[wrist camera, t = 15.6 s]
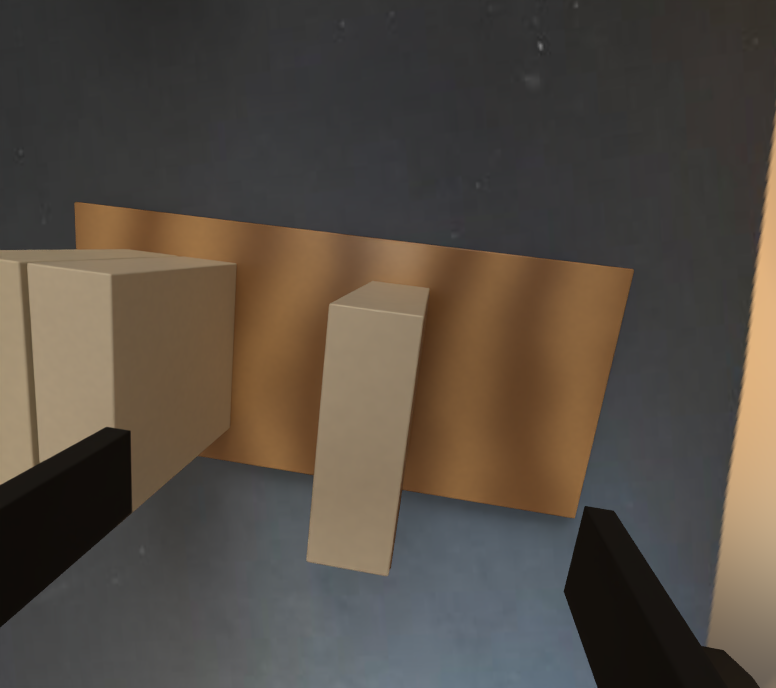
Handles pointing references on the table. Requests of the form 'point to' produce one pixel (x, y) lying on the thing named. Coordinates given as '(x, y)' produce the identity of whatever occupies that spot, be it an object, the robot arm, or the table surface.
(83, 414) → the matching cream books
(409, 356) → the cream book
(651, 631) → the robot arm
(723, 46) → the table surface
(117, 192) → the table surface
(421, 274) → the shelf board
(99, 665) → the table surface
